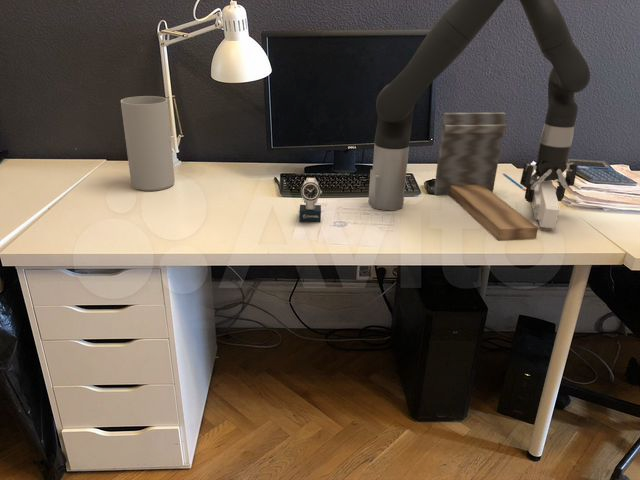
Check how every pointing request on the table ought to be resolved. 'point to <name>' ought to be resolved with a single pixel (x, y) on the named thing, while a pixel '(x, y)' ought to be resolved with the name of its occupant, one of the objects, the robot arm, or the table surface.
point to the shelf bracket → (545, 204)
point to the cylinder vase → (148, 142)
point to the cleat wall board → (477, 172)
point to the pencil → (514, 182)
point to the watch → (310, 202)
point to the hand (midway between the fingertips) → (543, 200)
